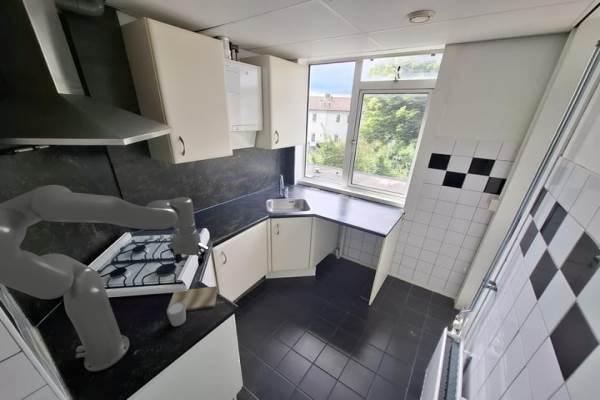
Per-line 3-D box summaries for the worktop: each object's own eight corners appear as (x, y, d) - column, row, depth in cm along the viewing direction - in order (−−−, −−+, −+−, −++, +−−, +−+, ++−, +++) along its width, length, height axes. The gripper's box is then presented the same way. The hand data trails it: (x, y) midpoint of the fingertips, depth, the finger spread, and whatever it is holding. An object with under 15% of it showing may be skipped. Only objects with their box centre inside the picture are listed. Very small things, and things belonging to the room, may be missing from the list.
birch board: (167, 313, 98) (166, 311, 97) (174, 293, 109) (174, 291, 108) (214, 306, 102) (214, 304, 102) (217, 287, 113) (217, 286, 113)
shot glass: (183, 311, 99) (180, 299, 96) (190, 319, 95) (188, 307, 92) (166, 321, 94) (163, 308, 91) (173, 330, 90) (170, 318, 87)
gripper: (158, 230, 86) (165, 266, 92) (201, 234, 85) (205, 270, 91) (170, 221, 93) (176, 255, 99) (210, 225, 92) (213, 259, 98)
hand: (190, 262), depth 95 cm, fingers open, 9 cm apart
